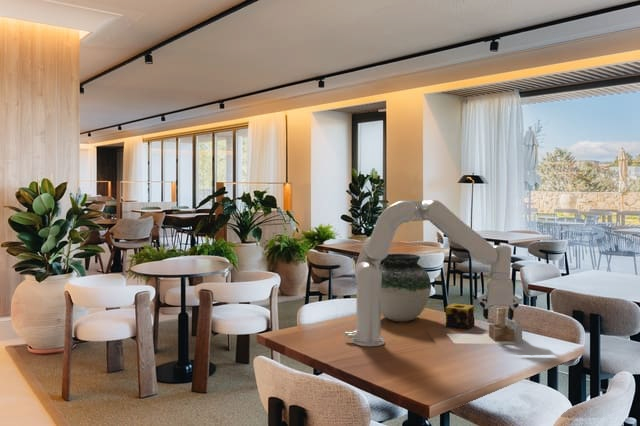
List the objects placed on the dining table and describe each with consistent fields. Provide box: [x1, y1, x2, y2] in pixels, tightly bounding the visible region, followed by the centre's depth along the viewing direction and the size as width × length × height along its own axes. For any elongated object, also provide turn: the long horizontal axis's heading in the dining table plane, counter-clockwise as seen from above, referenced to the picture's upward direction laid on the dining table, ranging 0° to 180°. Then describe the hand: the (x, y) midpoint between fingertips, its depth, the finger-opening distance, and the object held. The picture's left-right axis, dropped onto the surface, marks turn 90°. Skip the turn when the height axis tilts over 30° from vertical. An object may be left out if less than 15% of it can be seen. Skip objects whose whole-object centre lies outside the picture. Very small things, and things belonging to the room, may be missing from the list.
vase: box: [379, 253, 432, 322], centre depth 243 cm, size 28×28×30 cm
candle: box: [445, 303, 476, 331], centre depth 226 cm, size 10×10×10 cm
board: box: [446, 316, 523, 345], centre depth 206 cm, size 26×14×8 cm, turn 89°
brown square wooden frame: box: [488, 323, 514, 341], centre depth 206 cm, size 8×8×5 cm
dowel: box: [496, 307, 506, 328], centre depth 206 cm, size 3×3×12 cm
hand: (498, 318), depth 206 cm, fingers open, 9 cm apart
